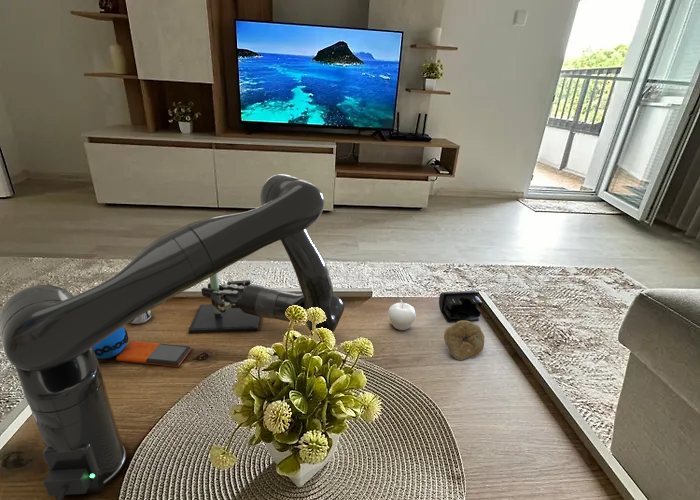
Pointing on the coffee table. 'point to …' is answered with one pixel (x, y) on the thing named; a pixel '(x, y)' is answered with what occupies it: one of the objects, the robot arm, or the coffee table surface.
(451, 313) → the end cap
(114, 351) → the ornament
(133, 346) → the phone
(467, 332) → the fossil
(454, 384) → the coffee table surface
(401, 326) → the apple
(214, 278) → the stylus
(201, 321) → the tablet
